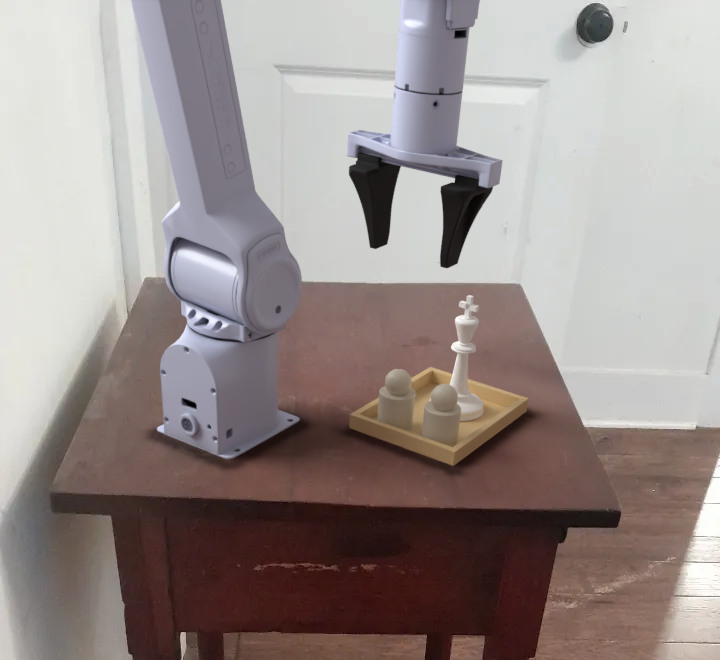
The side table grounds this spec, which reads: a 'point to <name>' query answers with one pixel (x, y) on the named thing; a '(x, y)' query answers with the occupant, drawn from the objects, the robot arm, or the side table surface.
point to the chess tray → (471, 433)
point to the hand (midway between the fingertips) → (413, 255)
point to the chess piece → (465, 361)
